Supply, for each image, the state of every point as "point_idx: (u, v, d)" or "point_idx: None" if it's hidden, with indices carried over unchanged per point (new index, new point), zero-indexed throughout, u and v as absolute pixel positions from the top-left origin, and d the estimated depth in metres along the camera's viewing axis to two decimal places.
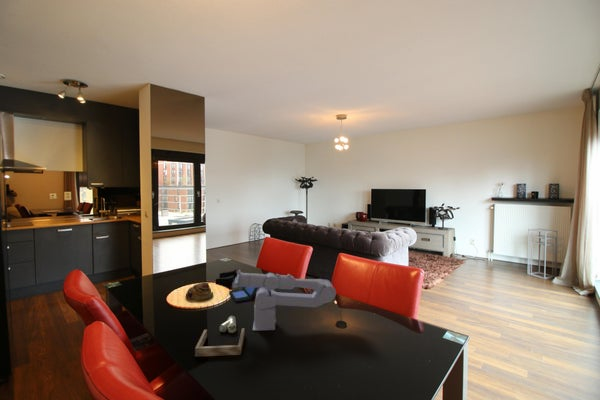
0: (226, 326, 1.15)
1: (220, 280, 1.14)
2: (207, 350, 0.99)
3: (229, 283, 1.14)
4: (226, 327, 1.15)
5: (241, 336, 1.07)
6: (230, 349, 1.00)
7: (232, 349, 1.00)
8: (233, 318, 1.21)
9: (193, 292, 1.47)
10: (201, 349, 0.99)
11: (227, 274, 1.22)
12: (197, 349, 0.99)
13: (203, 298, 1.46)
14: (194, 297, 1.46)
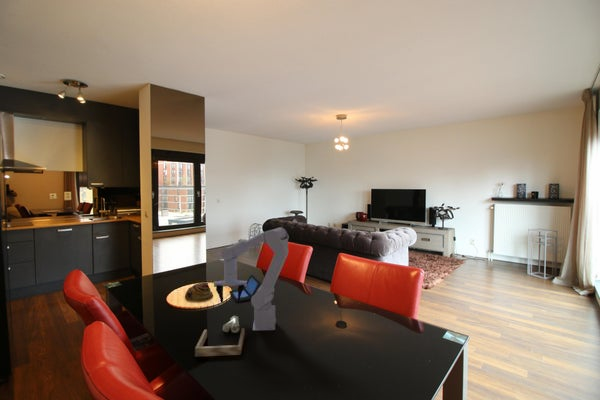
0: (229, 326, 1.16)
1: None
2: (207, 350, 0.99)
3: None
4: (229, 327, 1.15)
5: (241, 336, 1.07)
6: (230, 349, 1.00)
7: (232, 349, 1.00)
8: (236, 318, 1.21)
9: (193, 292, 1.47)
10: (201, 349, 0.99)
11: None
12: (197, 349, 0.99)
13: (202, 297, 1.47)
14: (193, 297, 1.46)
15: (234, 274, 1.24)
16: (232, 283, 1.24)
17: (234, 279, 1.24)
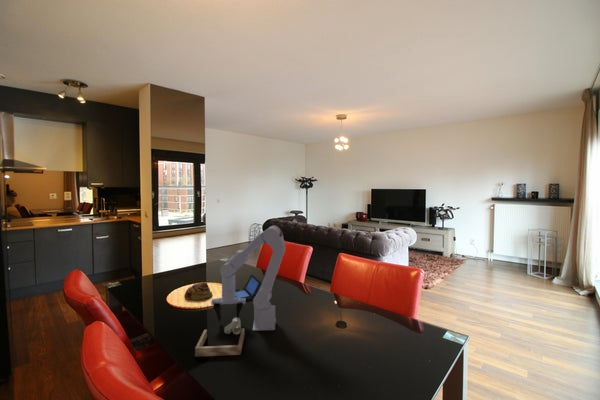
0: (231, 328, 1.14)
1: None
2: (207, 350, 0.99)
3: None
4: (231, 329, 1.14)
5: (241, 336, 1.07)
6: (230, 349, 1.00)
7: (232, 349, 1.00)
8: (238, 319, 1.19)
9: (192, 292, 1.47)
10: (201, 349, 0.99)
11: None
12: (197, 349, 0.99)
13: (202, 297, 1.47)
14: (193, 297, 1.46)
15: (232, 292, 1.20)
16: (230, 301, 1.19)
17: (232, 297, 1.20)
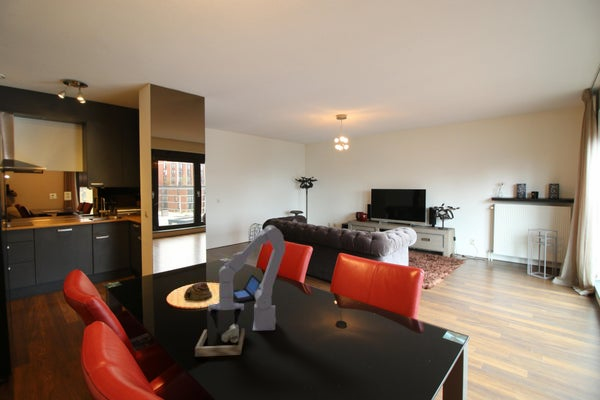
0: (228, 335, 1.08)
1: None
2: (207, 350, 0.99)
3: None
4: (228, 336, 1.08)
5: (241, 336, 1.07)
6: (230, 349, 1.00)
7: (232, 349, 1.00)
8: (236, 326, 1.13)
9: (192, 292, 1.48)
10: (201, 349, 0.99)
11: None
12: (197, 349, 0.99)
13: (201, 297, 1.47)
14: (192, 296, 1.47)
15: (230, 297, 1.14)
16: (228, 307, 1.13)
17: (230, 302, 1.14)
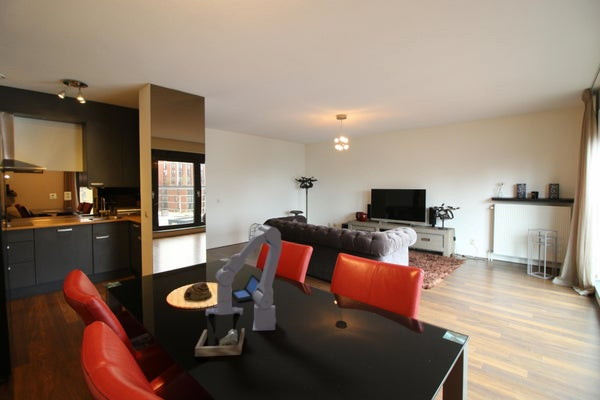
0: (227, 341, 1.04)
1: None
2: (207, 350, 0.99)
3: None
4: (226, 342, 1.04)
5: (241, 336, 1.07)
6: (230, 349, 1.00)
7: (232, 349, 1.00)
8: (235, 332, 1.09)
9: (191, 292, 1.48)
10: (201, 349, 0.99)
11: None
12: (197, 349, 0.99)
13: (201, 297, 1.47)
14: (192, 296, 1.47)
15: (228, 301, 1.10)
16: (226, 311, 1.09)
17: (228, 307, 1.10)
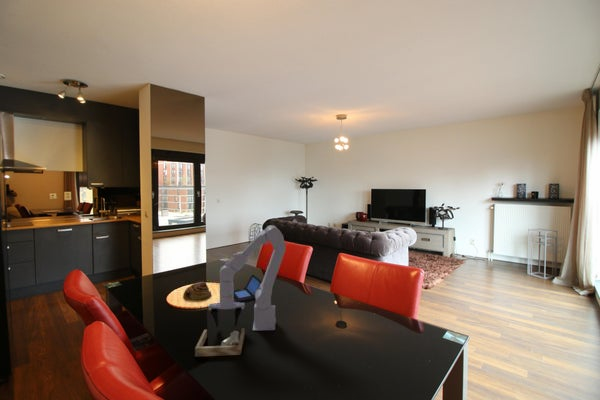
0: (228, 343, 1.03)
1: None
2: (207, 350, 0.99)
3: None
4: (228, 344, 1.03)
5: (241, 336, 1.07)
6: (230, 349, 1.00)
7: (232, 349, 1.00)
8: (236, 333, 1.08)
9: (191, 291, 1.48)
10: (201, 349, 0.99)
11: None
12: (197, 349, 0.99)
13: (201, 297, 1.47)
14: (192, 296, 1.47)
15: (231, 296, 1.15)
16: (228, 306, 1.14)
17: (231, 302, 1.15)
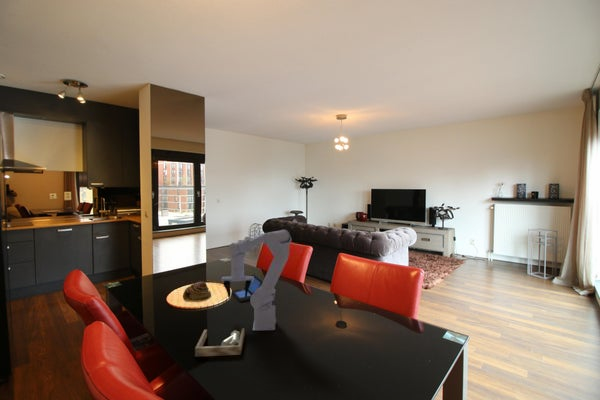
0: (228, 343, 1.03)
1: None
2: (207, 350, 0.99)
3: None
4: (228, 344, 1.03)
5: (241, 336, 1.07)
6: (230, 349, 1.00)
7: (232, 349, 1.00)
8: (237, 333, 1.08)
9: (191, 291, 1.48)
10: (201, 349, 0.99)
11: None
12: (197, 349, 0.99)
13: (200, 297, 1.47)
14: (191, 296, 1.47)
15: (241, 269, 1.27)
16: (239, 278, 1.26)
17: (241, 274, 1.27)
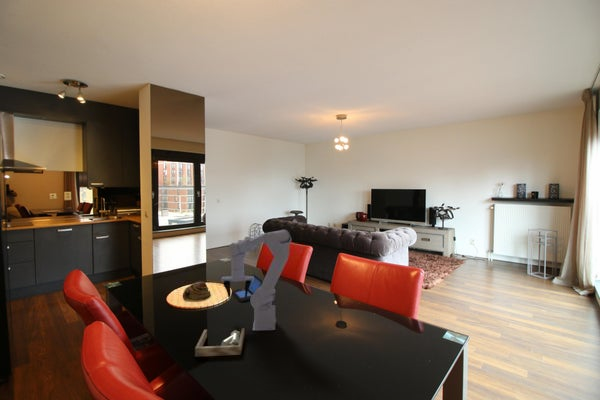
0: (228, 343, 1.03)
1: None
2: (207, 350, 0.99)
3: None
4: (228, 344, 1.03)
5: (241, 336, 1.07)
6: (230, 349, 1.00)
7: (232, 349, 1.00)
8: (237, 333, 1.08)
9: (190, 291, 1.48)
10: (201, 349, 0.99)
11: None
12: (197, 349, 0.99)
13: (200, 297, 1.48)
14: (191, 296, 1.47)
15: (241, 269, 1.27)
16: (239, 278, 1.26)
17: (241, 274, 1.27)
